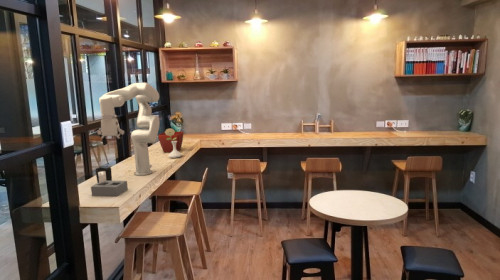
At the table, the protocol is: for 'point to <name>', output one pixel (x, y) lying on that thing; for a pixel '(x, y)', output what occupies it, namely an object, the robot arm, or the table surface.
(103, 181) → the steel pin
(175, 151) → the flower in vase
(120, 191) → the hole block
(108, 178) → the pen holder
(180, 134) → the plant pot
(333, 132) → the table surface
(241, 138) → the table surface
